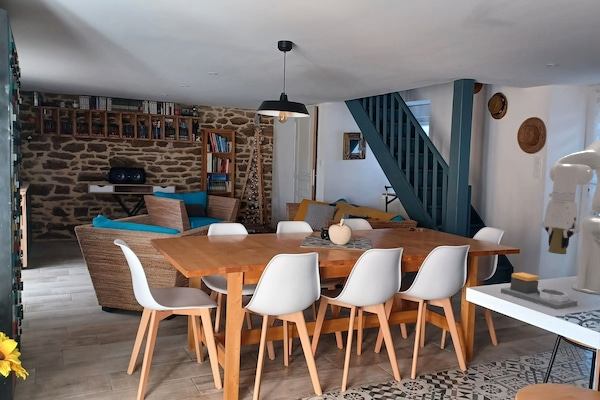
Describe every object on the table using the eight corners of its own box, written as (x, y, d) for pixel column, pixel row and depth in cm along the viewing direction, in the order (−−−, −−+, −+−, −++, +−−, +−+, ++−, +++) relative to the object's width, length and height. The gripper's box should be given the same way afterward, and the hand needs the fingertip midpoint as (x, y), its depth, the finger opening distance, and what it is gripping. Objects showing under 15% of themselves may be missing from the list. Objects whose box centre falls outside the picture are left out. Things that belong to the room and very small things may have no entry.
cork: (568, 254, 180) (572, 224, 179) (550, 253, 182) (554, 223, 181) (563, 252, 186) (566, 222, 185) (546, 250, 188) (549, 221, 187)
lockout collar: (546, 294, 192) (547, 287, 192) (571, 300, 184) (572, 294, 184) (532, 296, 187) (533, 290, 187) (557, 303, 179) (557, 296, 179)
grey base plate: (520, 289, 203) (521, 274, 203) (576, 305, 184) (578, 289, 184) (500, 292, 196) (502, 277, 196) (557, 309, 177) (559, 292, 177)
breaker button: (521, 283, 200) (522, 272, 199) (537, 287, 194) (538, 276, 193) (510, 284, 196) (511, 273, 196) (527, 289, 190) (528, 277, 190)
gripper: (536, 195, 187) (530, 243, 189) (581, 200, 173) (575, 251, 175) (547, 195, 191) (542, 242, 193) (592, 200, 177) (586, 250, 179)
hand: (557, 246), depth 184 cm, fingers closed on cork, 4 cm apart
